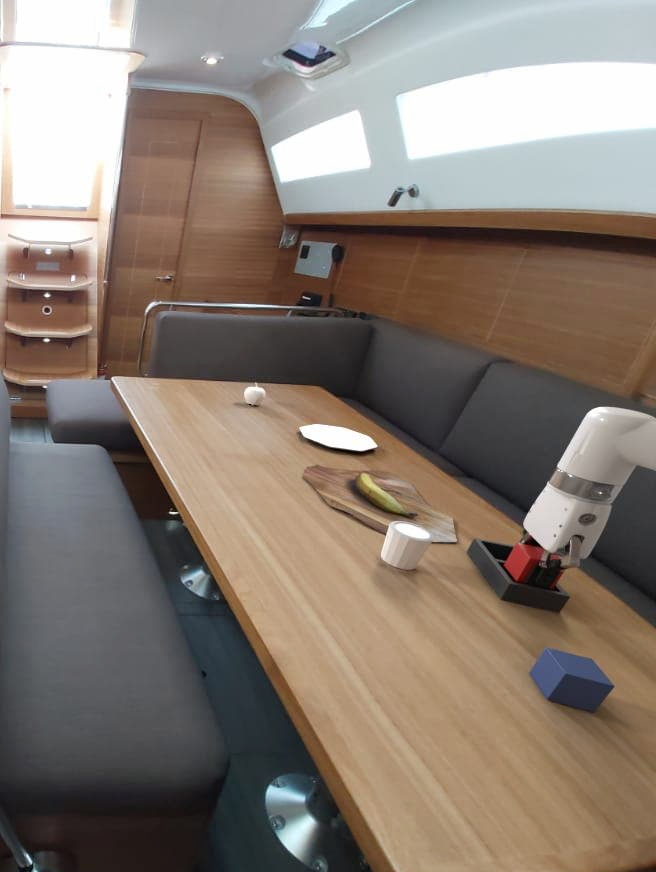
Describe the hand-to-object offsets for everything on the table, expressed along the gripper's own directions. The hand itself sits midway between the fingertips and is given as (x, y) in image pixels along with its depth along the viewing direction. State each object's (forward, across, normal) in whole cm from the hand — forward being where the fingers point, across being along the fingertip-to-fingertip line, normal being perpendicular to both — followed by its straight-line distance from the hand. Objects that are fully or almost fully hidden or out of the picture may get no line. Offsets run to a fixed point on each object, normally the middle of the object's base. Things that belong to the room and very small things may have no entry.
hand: (528, 575), depth 87 cm
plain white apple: (+4, +95, +42) cm, 104 cm away
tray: (+4, +4, 0) cm, 5 cm away
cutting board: (+4, +29, +16) cm, 33 cm away
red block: (0, 0, 0) cm, 0 cm away
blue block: (+4, -25, +5) cm, 26 cm away
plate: (+4, +68, +19) cm, 70 cm away
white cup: (+4, +2, +18) cm, 18 cm away
